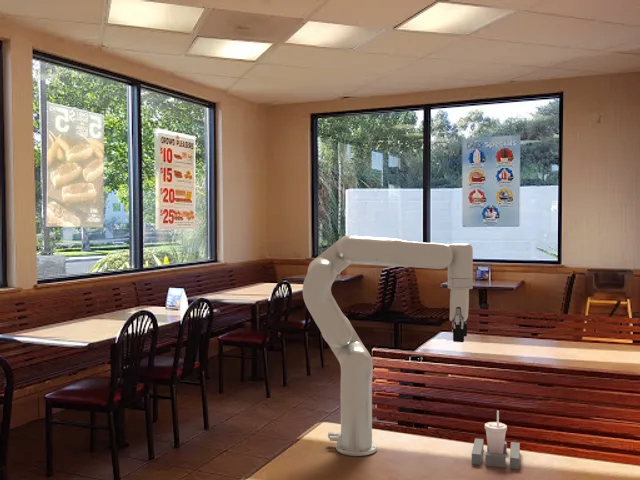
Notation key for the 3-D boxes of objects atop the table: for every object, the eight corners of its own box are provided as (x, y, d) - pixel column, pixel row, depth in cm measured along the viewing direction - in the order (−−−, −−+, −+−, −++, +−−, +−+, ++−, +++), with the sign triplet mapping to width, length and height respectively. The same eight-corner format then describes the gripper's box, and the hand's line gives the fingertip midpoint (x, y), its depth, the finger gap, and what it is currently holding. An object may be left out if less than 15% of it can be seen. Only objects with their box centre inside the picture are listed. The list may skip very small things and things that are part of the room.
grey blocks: (471, 463, 177) (471, 453, 177) (475, 448, 190) (475, 438, 190) (519, 469, 173) (519, 458, 173) (519, 452, 186) (519, 442, 186)
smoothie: (508, 462, 178) (508, 414, 178) (485, 461, 179) (485, 413, 179) (505, 454, 184) (506, 408, 184) (483, 453, 186) (483, 406, 185)
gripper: (450, 280, 200) (450, 333, 200) (444, 286, 183) (444, 343, 184) (474, 281, 197) (474, 334, 198) (470, 286, 181) (470, 345, 181)
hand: (460, 338), depth 191 cm, fingers open, 9 cm apart
